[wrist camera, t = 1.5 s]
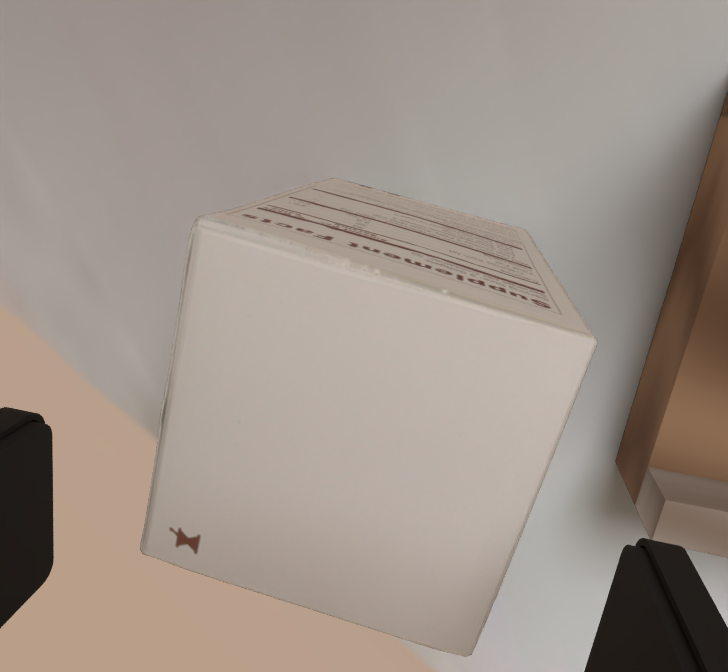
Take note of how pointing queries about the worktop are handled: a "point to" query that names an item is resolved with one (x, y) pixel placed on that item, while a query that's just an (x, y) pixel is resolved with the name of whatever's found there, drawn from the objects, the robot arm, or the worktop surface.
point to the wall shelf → (688, 384)
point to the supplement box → (362, 407)
